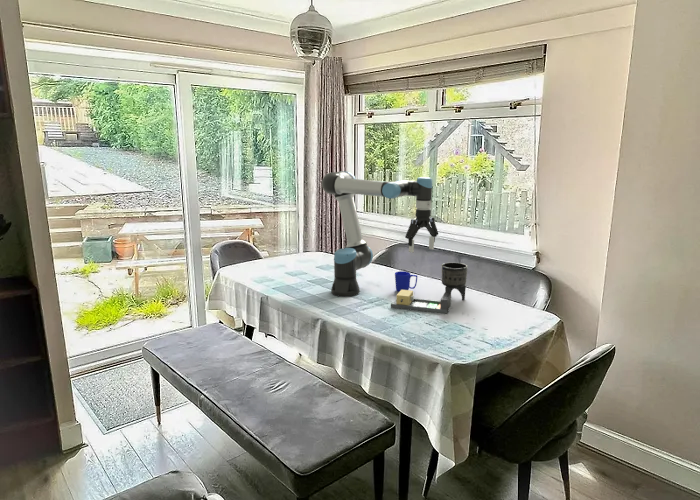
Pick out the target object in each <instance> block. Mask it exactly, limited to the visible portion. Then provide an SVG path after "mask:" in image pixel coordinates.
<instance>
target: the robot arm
mask: <svg viewBox="0 0 700 500" xmlns="http://www.w3.org/2000/svg"><path fill="white" fill-rule="evenodd" d="M321 187H322V190H323V191H324V192H325V193H327V194H329V195H333V196H334V199H335V200H336V201H337V202H338V206H339V212H340V214H341V215H340V216H341V219H342V223H343V229H344V232H345V233H344V234H345V237H346V241H347V244H346V246H345V247H343V248H340V249H337V250H336V251H335V252H334V254H333V262H334V265H333V267H334V273H333V274H334V275H333V276H334V279H333V283H332V286H331V289H330V290H331V292H330V293H331V294H332V295H333V296H336V297H345V298H347V297H349V298H350V297H354V296H358V295H359V294H360V285H359V282H358V279H357V271H358V270H360V269H364V268H366V267H368V266H369V265H370V264H371V263H372V261H373V257H374V254H373V250H372V248H370V247H369V245H367V244H368V243H367V242H366V241H365V240H364V239H363V235H362V229H361V225H360V221H359V217H358V211H357V207H356V203H355V198H354V197H355V195H360V196H361V195H363V196H370V197H371V196H373V197H374V196H375V197H383V198H386V199H392V200H393V199H396V198H401V197H402V198H403V197H406V196H407V197H415V198H416V199H415V200H416V202H415V208H416V209H415V217H416V219H413V218H411V220H410V224H409V226H408V229H407V231H406V234H405V236H404V237H405V239H407V241H408V244H407V245H408V252H409V253H411V254H413V253H414V251H415V250H414V249H415V248H414V247H415V239H414V238H415V237H416V235H417V234H418V232H419V230H420V229H423V228H425V229H426V230H427V232H428V233H429V235H430V236H428V237H429V241H428V249H429V250H434V249H435V243H436V237H438V235H439V231H438V228H437V225H436V222H435V220H436V219H435V217H433V216H431V215H432V209H431V208H432V194H433V179H432V177H427V176H425V177H424V176H418V177H417V179H416V180H405V179H396V181H383V180H374V179H371V180H370V179H360V178H356V177H355V175H354V174H353V173H351V172H349V171H345V170H344V171H343V170H342V171H336V172H335V171H334V172H329V173H326V174H324V176H323V178H322V181H321Z"/></svg>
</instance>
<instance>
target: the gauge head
mask: <svg viewBox="0 0 700 500" xmlns="http://www.w3.org/2000/svg"><path fill="white" fill-rule="evenodd" d="M414 298H415V296H414V290H412V289H409V290H401V291H400V292H398V293H397V294H396V299H397V301H396V300H395V301H396V304H402V305H410V304H411V302H412V301H413V300H414Z"/></svg>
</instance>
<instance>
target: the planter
mask: <svg viewBox="0 0 700 500" xmlns="http://www.w3.org/2000/svg"><path fill="white" fill-rule="evenodd" d="M440 266H441V284H442V286H445V289H444V290H445V291H444V293H445V292H449V293H451V294H452V291H453V290H454V289H455V290H457V292H459V293H460V295H461V301H465V299H466V289H467V288H466V287H467V279H468V278H467V277H468V276H467V275H468V268H469V267H468V265H467V264H465V263H461V262H453V261H451V262H445V263H442V264H441V265H440Z"/></svg>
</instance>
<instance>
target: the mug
mask: <svg viewBox="0 0 700 500" xmlns="http://www.w3.org/2000/svg"><path fill="white" fill-rule="evenodd" d="M412 277H415V283H414V286H413V287H411V278H412ZM394 281H395V290H396V291H397V292H398V293H399V292H400V291H401V290H413V289H415V288H416V286H417V283H418V275H416V274H411V273H410V272H409V271H396V272H395V273H394Z"/></svg>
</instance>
